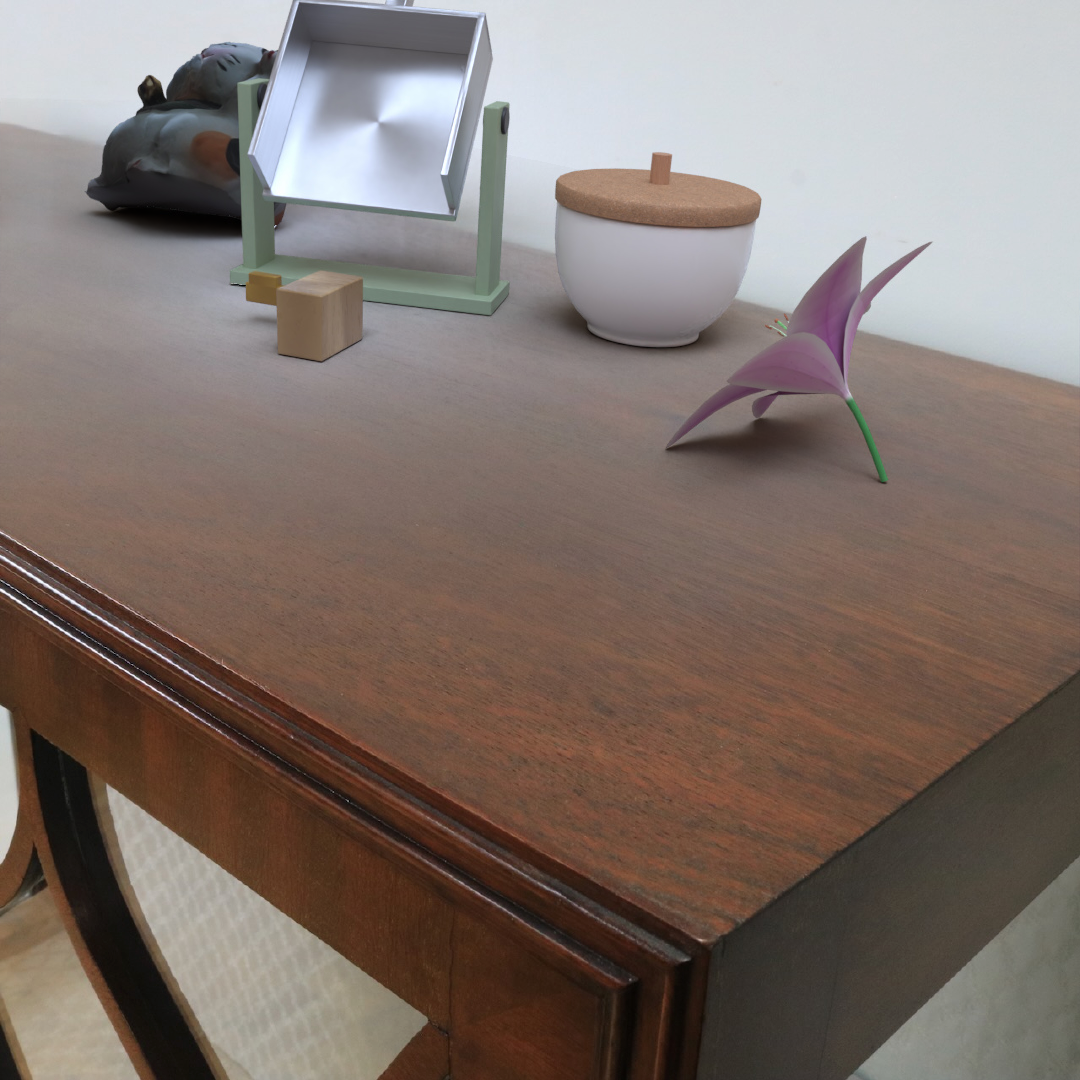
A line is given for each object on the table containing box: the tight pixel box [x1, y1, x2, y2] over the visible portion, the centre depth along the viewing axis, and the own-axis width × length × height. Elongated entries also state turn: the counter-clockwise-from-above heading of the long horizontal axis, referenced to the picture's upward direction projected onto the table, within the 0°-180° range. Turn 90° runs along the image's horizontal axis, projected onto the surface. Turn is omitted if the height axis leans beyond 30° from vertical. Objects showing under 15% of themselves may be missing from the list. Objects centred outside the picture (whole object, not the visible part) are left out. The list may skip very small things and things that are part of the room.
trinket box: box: [554, 151, 762, 348], centre depth 65 cm, size 11×11×9 cm
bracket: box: [229, 78, 511, 316], centre depth 69 cm, size 5×15×11 cm, turn 80°
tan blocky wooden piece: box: [245, 270, 364, 362], centre depth 61 cm, size 6×3×5 cm
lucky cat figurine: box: [84, 41, 287, 226], centre depth 83 cm, size 15×12×14 cm
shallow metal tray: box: [247, 0, 494, 222], centre depth 68 cm, size 19×11×4 cm
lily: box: [664, 235, 933, 483], centre depth 50 cm, size 12×12×10 cm
